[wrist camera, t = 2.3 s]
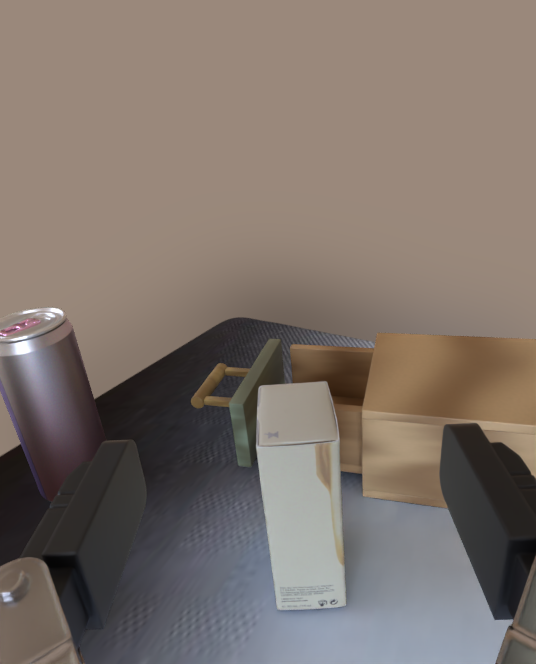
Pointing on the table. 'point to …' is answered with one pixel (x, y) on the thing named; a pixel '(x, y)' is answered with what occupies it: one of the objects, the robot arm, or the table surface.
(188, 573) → the table surface
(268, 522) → the cosmetic box
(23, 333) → the beverage can
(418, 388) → the cabinet
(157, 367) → the table surface
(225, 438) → the table surface
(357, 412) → the drawer
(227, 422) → the table surface
